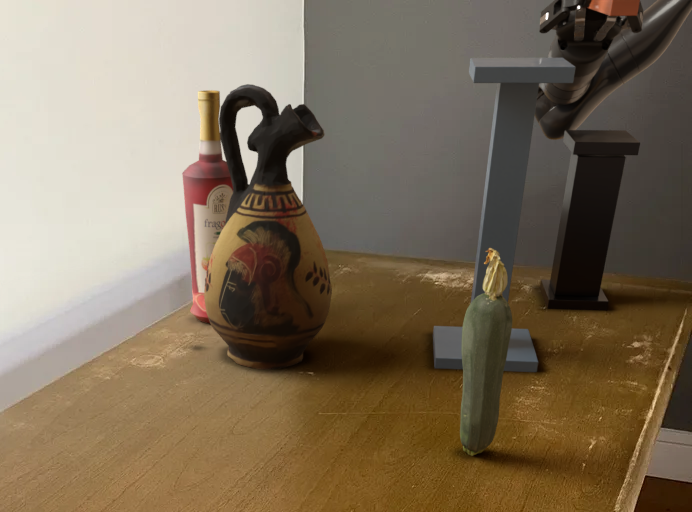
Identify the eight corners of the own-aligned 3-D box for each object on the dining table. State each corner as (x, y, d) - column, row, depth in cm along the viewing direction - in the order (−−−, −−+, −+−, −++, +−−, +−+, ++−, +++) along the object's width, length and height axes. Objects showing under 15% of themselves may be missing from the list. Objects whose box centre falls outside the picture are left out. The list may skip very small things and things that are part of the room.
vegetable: (496, 468, 93) (527, 257, 82) (451, 468, 93) (477, 258, 82) (487, 448, 97) (516, 244, 86) (444, 449, 97) (467, 245, 86)
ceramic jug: (348, 346, 123) (361, 82, 106) (297, 387, 111) (304, 98, 95) (231, 327, 129) (226, 76, 112) (172, 364, 118) (157, 91, 101)
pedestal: (539, 289, 142) (564, 129, 130) (595, 291, 141) (626, 130, 129) (547, 310, 134) (575, 141, 122) (606, 312, 133) (640, 142, 121)
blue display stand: (432, 336, 125) (460, 56, 107) (526, 340, 124) (571, 56, 106) (434, 369, 115) (465, 67, 97) (536, 373, 114) (587, 67, 96)
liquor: (201, 330, 128) (192, 96, 113) (181, 315, 134) (169, 90, 118) (250, 322, 131) (248, 92, 115) (228, 308, 136) (224, 86, 121)
